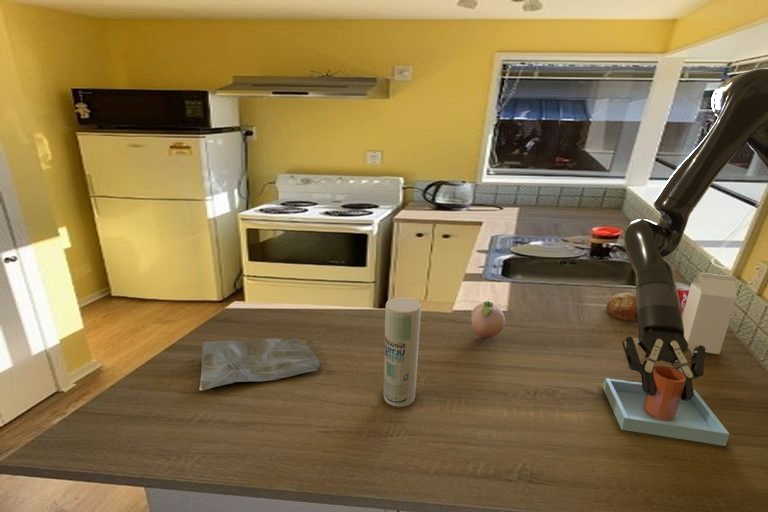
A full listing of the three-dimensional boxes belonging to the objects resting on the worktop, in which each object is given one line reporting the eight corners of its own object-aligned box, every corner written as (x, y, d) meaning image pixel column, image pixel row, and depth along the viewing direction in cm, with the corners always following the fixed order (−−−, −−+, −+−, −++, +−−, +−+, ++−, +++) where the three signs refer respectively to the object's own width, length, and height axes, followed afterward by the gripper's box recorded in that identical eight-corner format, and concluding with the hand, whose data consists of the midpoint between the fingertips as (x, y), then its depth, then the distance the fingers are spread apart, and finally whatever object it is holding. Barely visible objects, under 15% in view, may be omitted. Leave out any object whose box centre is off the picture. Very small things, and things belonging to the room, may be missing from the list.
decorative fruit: (504, 348, 102) (509, 311, 99) (470, 345, 104) (473, 308, 100) (500, 330, 111) (504, 295, 108) (468, 327, 112) (472, 292, 109)
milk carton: (719, 355, 102) (742, 281, 96) (685, 349, 104) (705, 277, 98) (708, 341, 109) (729, 271, 103) (676, 336, 111) (695, 268, 105)
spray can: (421, 394, 85) (427, 303, 78) (404, 412, 80) (409, 315, 73) (394, 383, 88) (397, 294, 82) (376, 399, 83) (378, 305, 77)
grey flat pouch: (309, 341, 105) (310, 333, 105) (322, 378, 91) (323, 369, 91) (203, 350, 97) (203, 341, 96) (199, 393, 83) (198, 383, 82)
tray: (692, 401, 85) (695, 390, 84) (725, 446, 73) (730, 434, 72) (602, 388, 88) (605, 377, 87) (621, 429, 76) (624, 417, 76)
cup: (668, 405, 82) (678, 367, 80) (679, 423, 78) (691, 383, 75) (638, 401, 84) (648, 363, 81) (648, 418, 79) (659, 379, 76)
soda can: (682, 324, 118) (693, 284, 114) (684, 334, 112) (695, 292, 108) (652, 317, 121) (662, 278, 117) (653, 327, 115) (663, 286, 111)
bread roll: (619, 316, 129) (612, 291, 130) (656, 314, 121) (648, 287, 121) (604, 325, 123) (597, 299, 123) (642, 324, 115) (634, 295, 115)
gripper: (626, 299, 83) (633, 387, 75) (708, 308, 80) (724, 400, 73) (613, 312, 89) (618, 394, 82) (689, 321, 87) (701, 407, 79)
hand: (668, 397), depth 77 cm, fingers closed on cup, 5 cm apart
